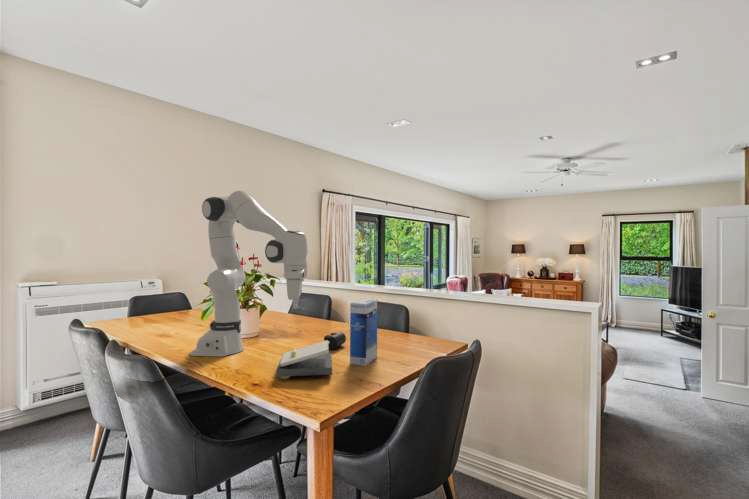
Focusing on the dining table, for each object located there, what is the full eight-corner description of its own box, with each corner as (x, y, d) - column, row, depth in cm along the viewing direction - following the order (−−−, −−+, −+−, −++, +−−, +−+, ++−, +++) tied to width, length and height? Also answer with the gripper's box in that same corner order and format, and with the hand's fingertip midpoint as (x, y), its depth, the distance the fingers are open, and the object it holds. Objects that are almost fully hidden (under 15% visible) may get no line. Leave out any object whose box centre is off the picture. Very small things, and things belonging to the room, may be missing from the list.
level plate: (278, 367, 135) (276, 360, 135) (283, 356, 149) (281, 349, 148) (328, 352, 137) (326, 345, 137) (328, 342, 151) (326, 336, 151)
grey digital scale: (276, 382, 133) (276, 369, 133) (282, 366, 150) (282, 355, 150) (332, 379, 135) (332, 367, 135) (331, 364, 153) (331, 353, 153)
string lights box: (362, 355, 165) (362, 298, 165) (378, 357, 162) (378, 299, 162) (349, 364, 153) (349, 302, 153) (366, 366, 150) (366, 303, 150)
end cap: (336, 351, 172) (336, 336, 172) (323, 349, 175) (323, 335, 175) (346, 346, 181) (346, 332, 181) (333, 344, 184) (333, 331, 184)
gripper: (289, 270, 152) (289, 304, 152) (284, 274, 132) (284, 313, 132) (305, 270, 153) (305, 303, 153) (302, 274, 132) (301, 312, 133)
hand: (295, 308), depth 142 cm, fingers closed
